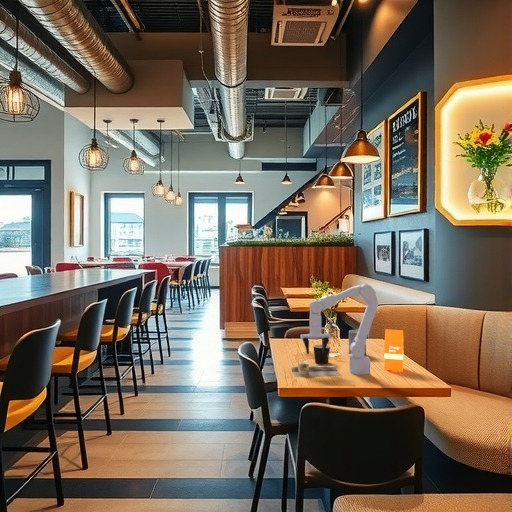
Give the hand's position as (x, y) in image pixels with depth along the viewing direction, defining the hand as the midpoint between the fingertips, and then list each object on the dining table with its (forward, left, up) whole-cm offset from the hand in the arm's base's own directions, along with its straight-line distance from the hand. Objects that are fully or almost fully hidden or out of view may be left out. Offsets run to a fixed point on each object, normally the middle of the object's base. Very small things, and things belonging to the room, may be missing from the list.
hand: (315, 353), depth 221 cm
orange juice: (-41, -6, -10) cm, 43 cm away
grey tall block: (-32, -39, -10) cm, 52 cm away
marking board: (+1, +4, -10) cm, 11 cm away
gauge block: (+7, +3, -9) cm, 11 cm away
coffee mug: (-5, -15, -10) cm, 19 cm away
